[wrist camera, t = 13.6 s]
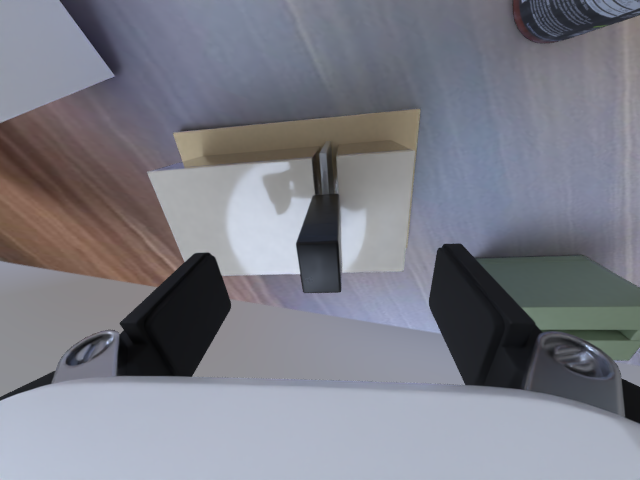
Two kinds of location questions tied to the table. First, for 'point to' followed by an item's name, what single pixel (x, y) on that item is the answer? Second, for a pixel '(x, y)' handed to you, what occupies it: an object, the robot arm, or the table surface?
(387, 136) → the cake
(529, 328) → the robot arm
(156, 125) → the table surface
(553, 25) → the supplement bottle
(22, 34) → the pile of blocks
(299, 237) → the knife
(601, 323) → the knife block
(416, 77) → the table surface
